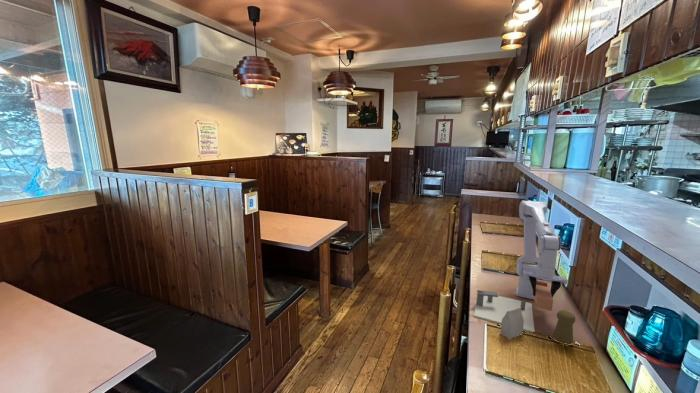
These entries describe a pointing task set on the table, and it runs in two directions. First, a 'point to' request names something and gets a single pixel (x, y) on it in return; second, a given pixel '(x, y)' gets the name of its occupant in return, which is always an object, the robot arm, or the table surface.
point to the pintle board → (501, 308)
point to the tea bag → (512, 323)
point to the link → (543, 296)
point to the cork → (564, 327)
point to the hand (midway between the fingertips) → (542, 296)
